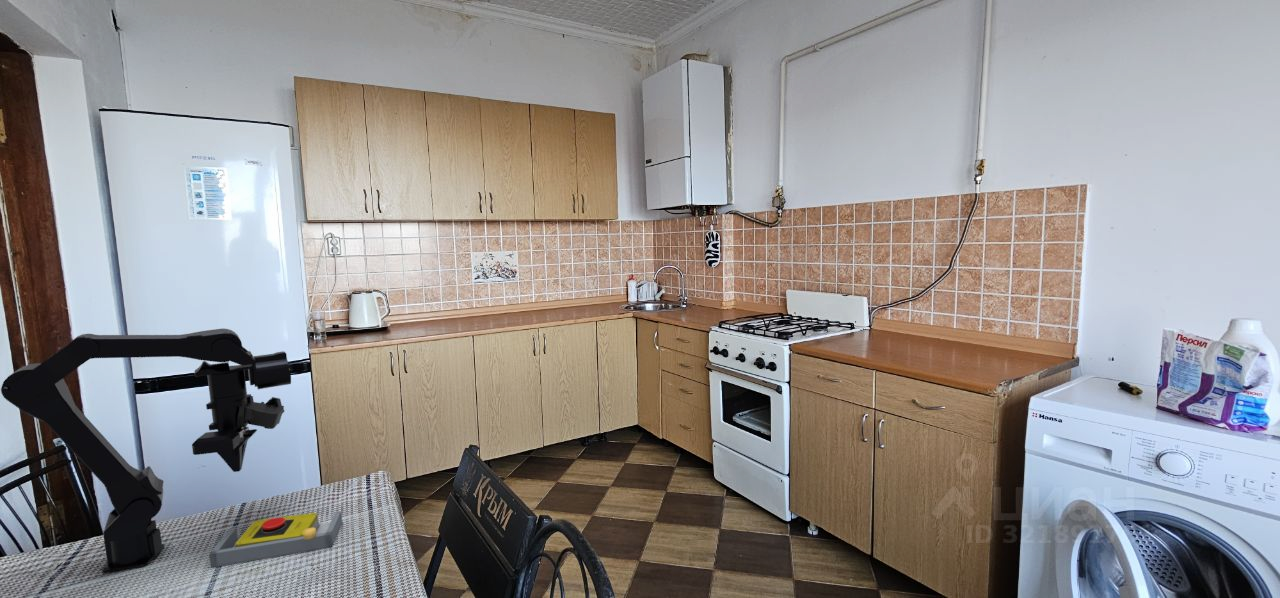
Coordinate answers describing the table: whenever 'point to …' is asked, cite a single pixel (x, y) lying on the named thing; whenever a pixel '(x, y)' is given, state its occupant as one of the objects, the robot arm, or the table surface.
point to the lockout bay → (273, 545)
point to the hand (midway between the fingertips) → (237, 470)
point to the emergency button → (280, 529)
